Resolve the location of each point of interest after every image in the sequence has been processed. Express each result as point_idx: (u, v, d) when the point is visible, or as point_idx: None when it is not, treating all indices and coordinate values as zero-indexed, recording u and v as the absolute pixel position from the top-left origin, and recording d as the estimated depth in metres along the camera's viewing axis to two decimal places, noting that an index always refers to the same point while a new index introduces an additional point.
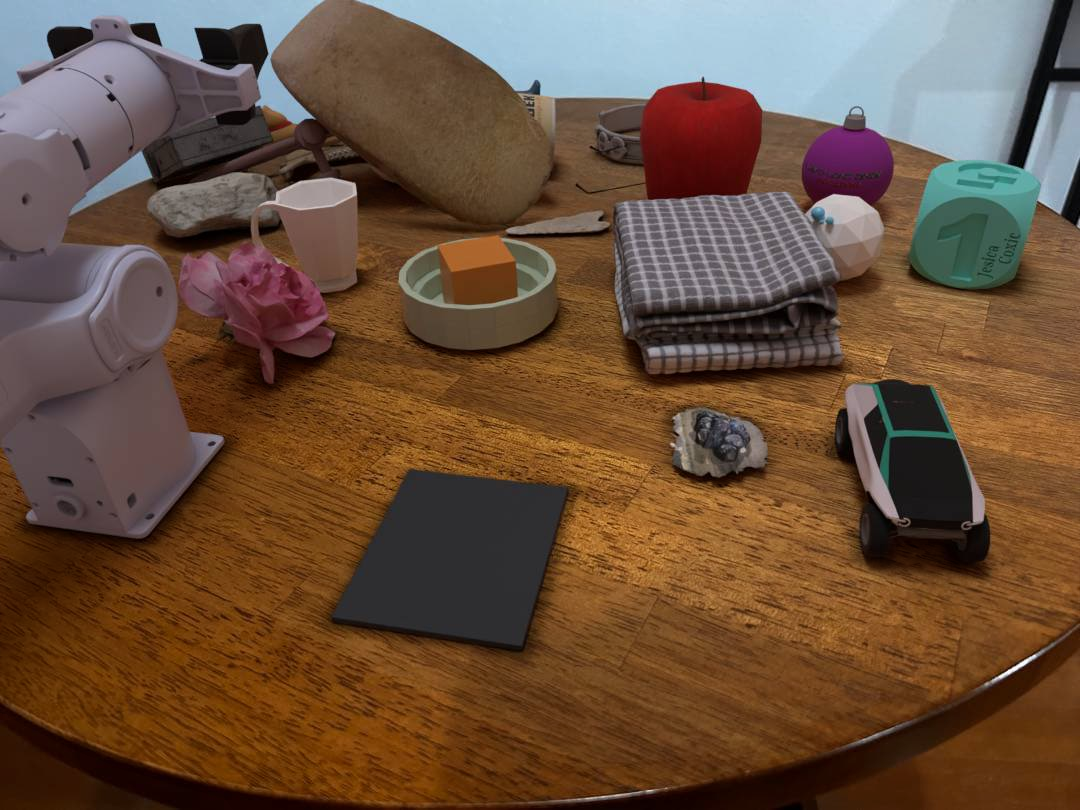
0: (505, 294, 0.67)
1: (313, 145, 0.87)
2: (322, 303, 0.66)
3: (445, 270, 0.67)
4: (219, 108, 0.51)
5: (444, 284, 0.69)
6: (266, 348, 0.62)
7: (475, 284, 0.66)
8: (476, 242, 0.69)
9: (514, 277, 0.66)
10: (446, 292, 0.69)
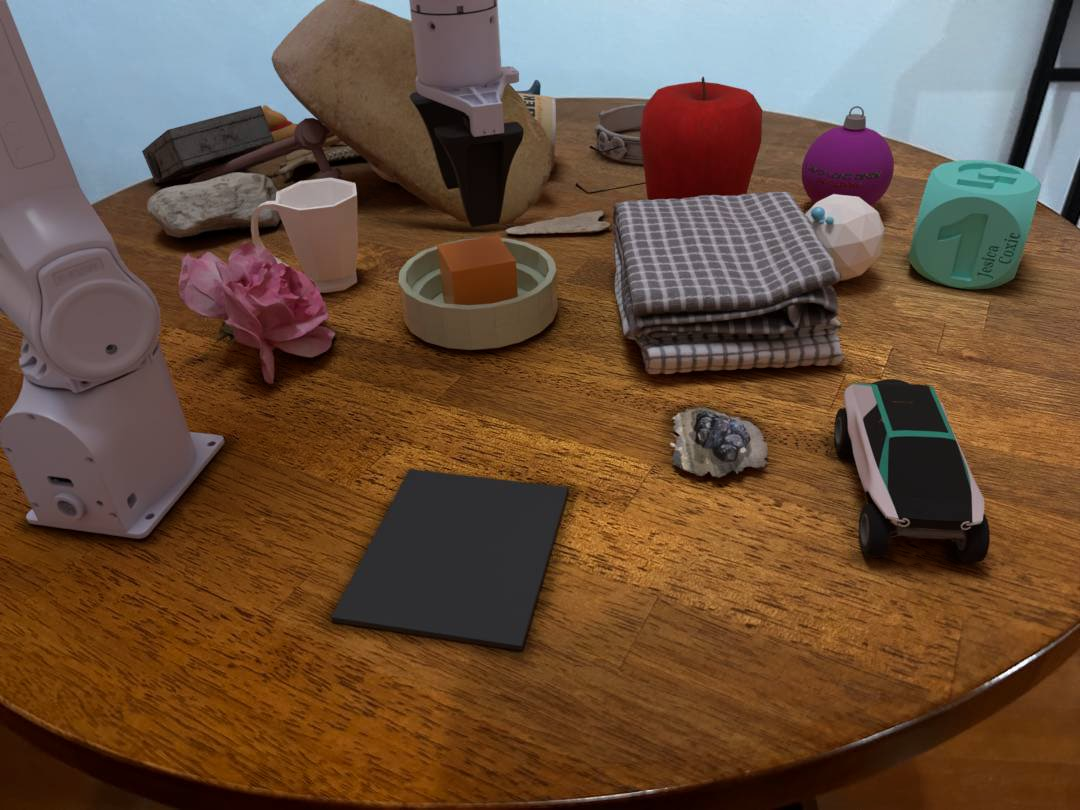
0: (505, 294, 0.67)
1: (313, 145, 0.87)
2: (322, 303, 0.66)
3: (445, 270, 0.67)
4: (464, 103, 0.55)
5: (444, 284, 0.69)
6: (266, 348, 0.62)
7: (475, 284, 0.66)
8: (476, 242, 0.69)
9: (514, 277, 0.66)
10: (446, 292, 0.69)
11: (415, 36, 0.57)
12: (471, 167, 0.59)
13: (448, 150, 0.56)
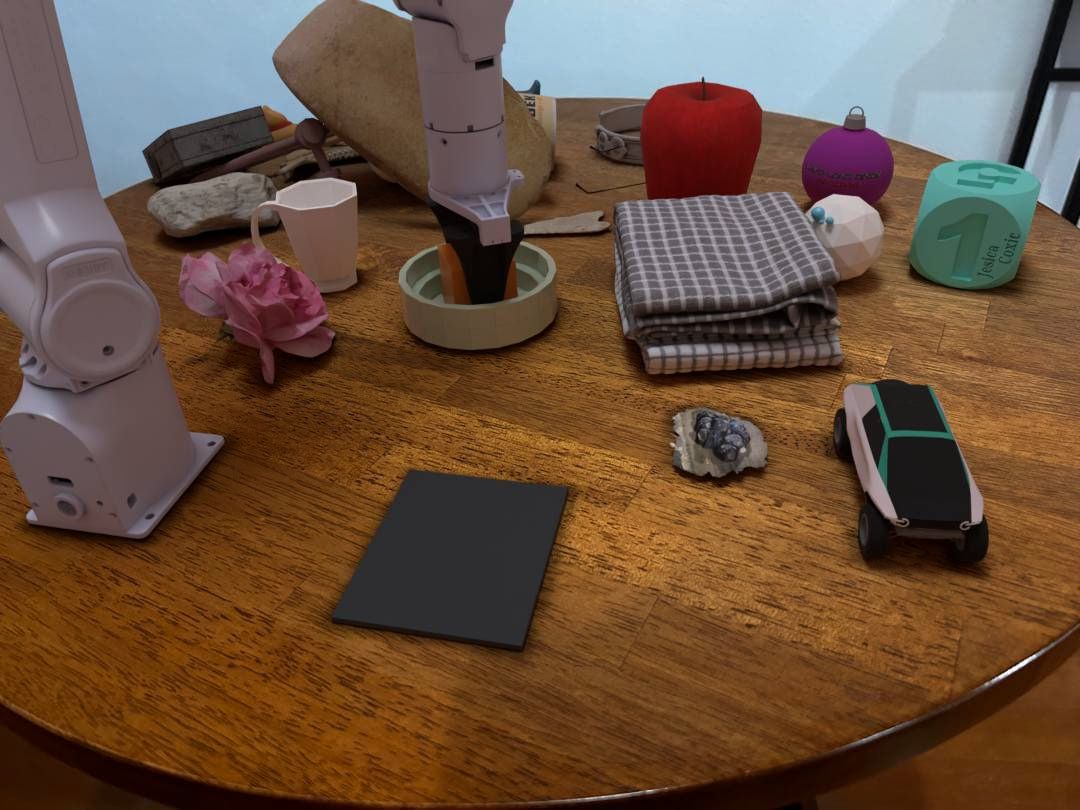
0: None
1: (313, 144, 0.87)
2: (322, 303, 0.66)
3: (445, 270, 0.67)
4: None
5: (444, 284, 0.69)
6: (266, 348, 0.62)
7: None
8: None
9: (514, 277, 0.66)
10: (446, 292, 0.69)
11: (428, 148, 0.61)
12: (476, 261, 0.64)
13: (455, 249, 0.61)
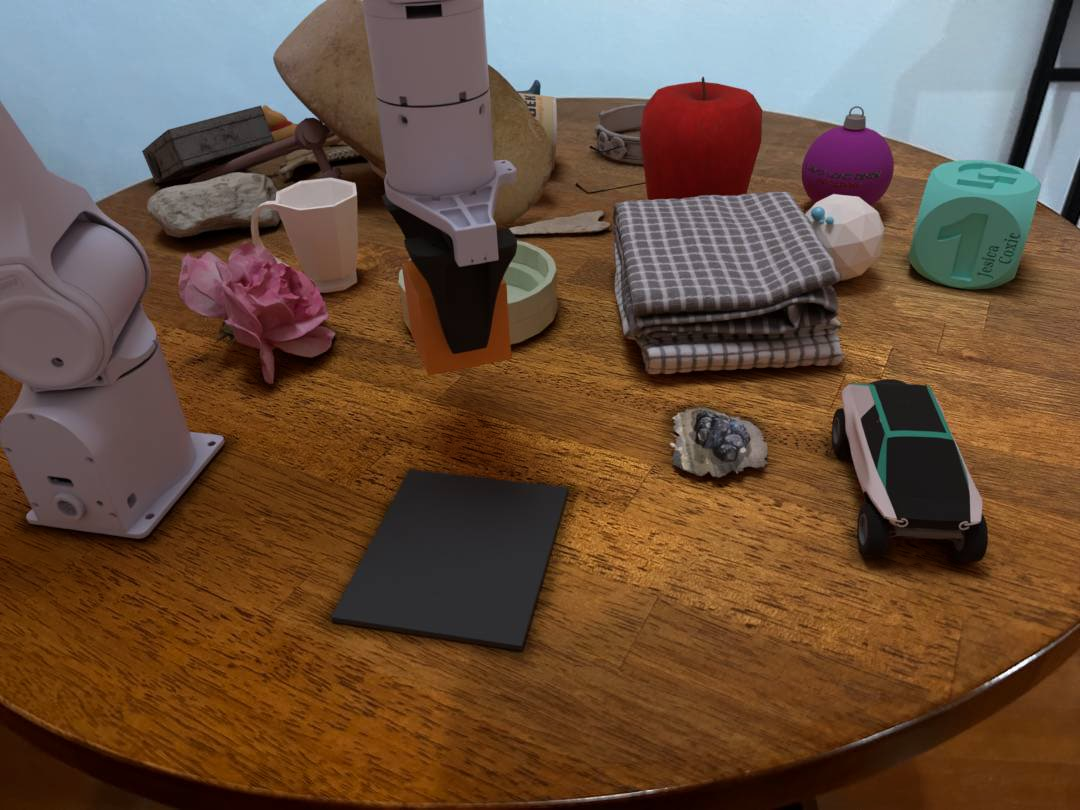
0: (492, 327, 0.50)
1: (314, 144, 0.87)
2: (322, 303, 0.66)
3: (411, 296, 0.50)
4: None
5: (411, 313, 0.52)
6: (266, 348, 0.62)
7: None
8: None
9: (504, 305, 0.49)
10: (414, 324, 0.52)
11: (382, 130, 0.44)
12: (451, 285, 0.47)
13: (421, 271, 0.44)
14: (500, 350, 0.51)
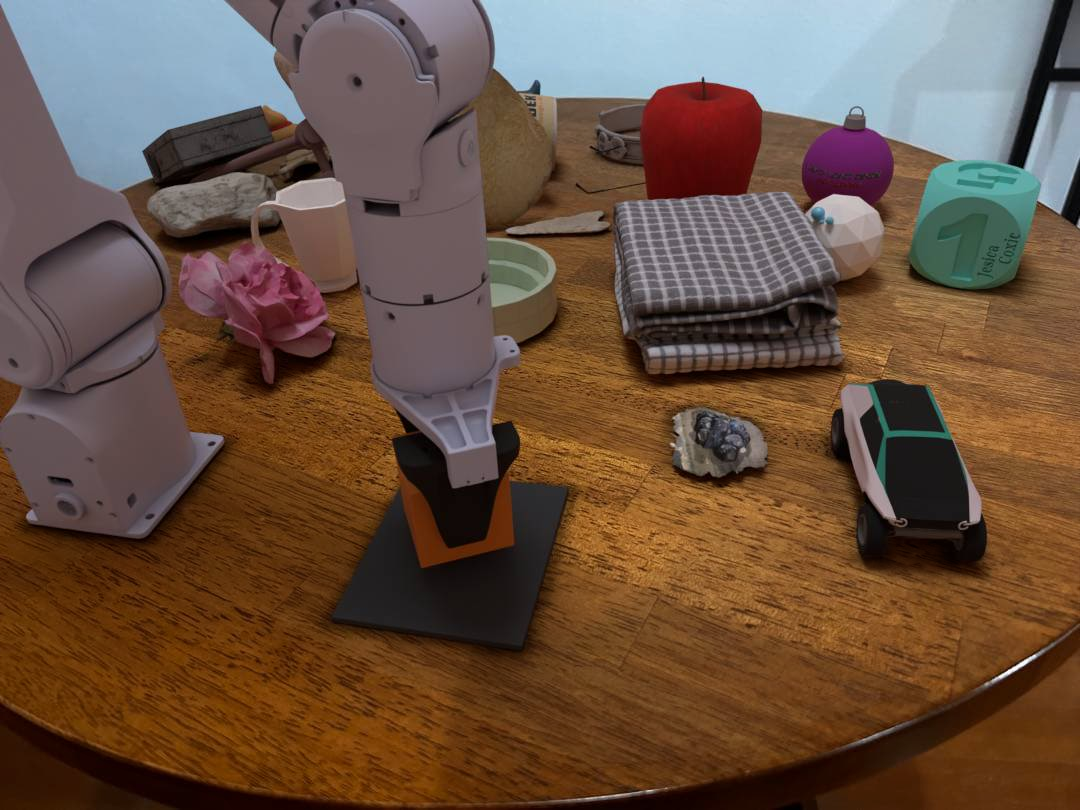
0: (492, 516, 0.44)
1: (314, 144, 0.87)
2: (322, 303, 0.66)
3: (402, 480, 0.44)
4: None
5: (403, 492, 0.46)
6: (266, 348, 0.62)
7: None
8: None
9: (506, 494, 0.44)
10: (405, 505, 0.46)
11: (367, 320, 0.39)
12: (445, 483, 0.41)
13: (410, 480, 0.39)
14: (501, 537, 0.45)
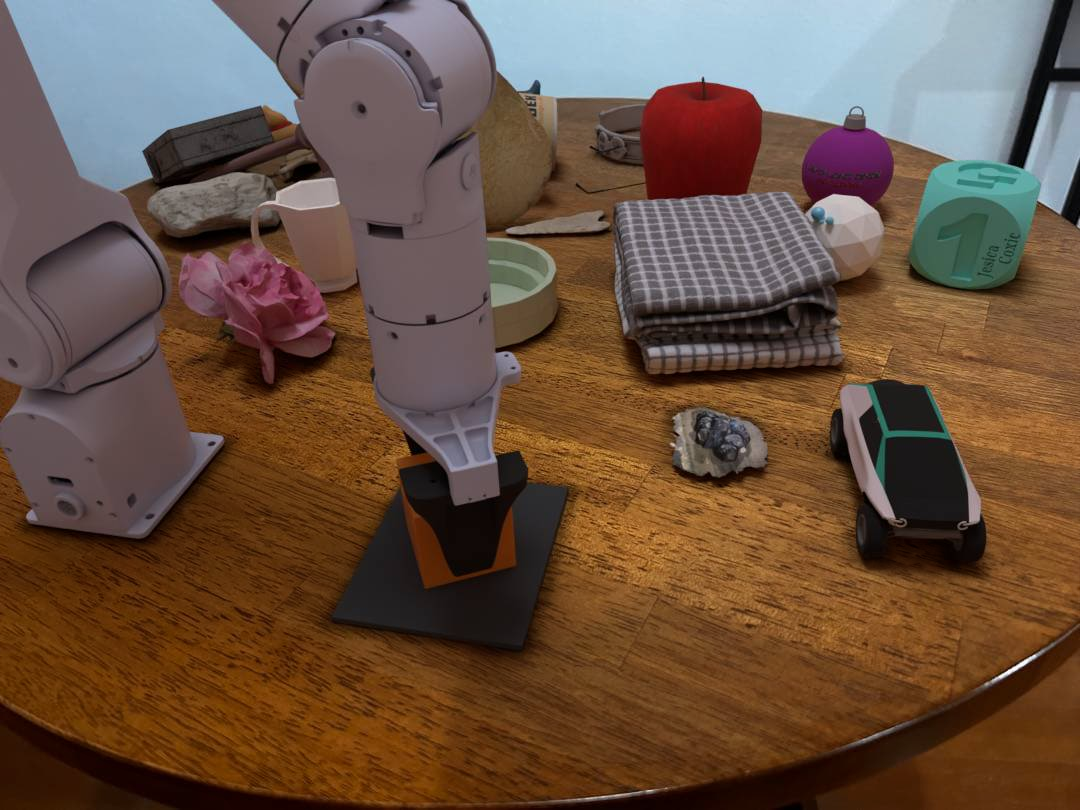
0: None
1: None
2: (322, 303, 0.66)
3: (406, 503, 0.45)
4: None
5: (407, 513, 0.47)
6: (266, 348, 0.62)
7: None
8: None
9: (508, 516, 0.45)
10: (409, 526, 0.47)
11: (370, 338, 0.39)
12: (452, 513, 0.41)
13: (418, 512, 0.38)
14: (503, 559, 0.46)
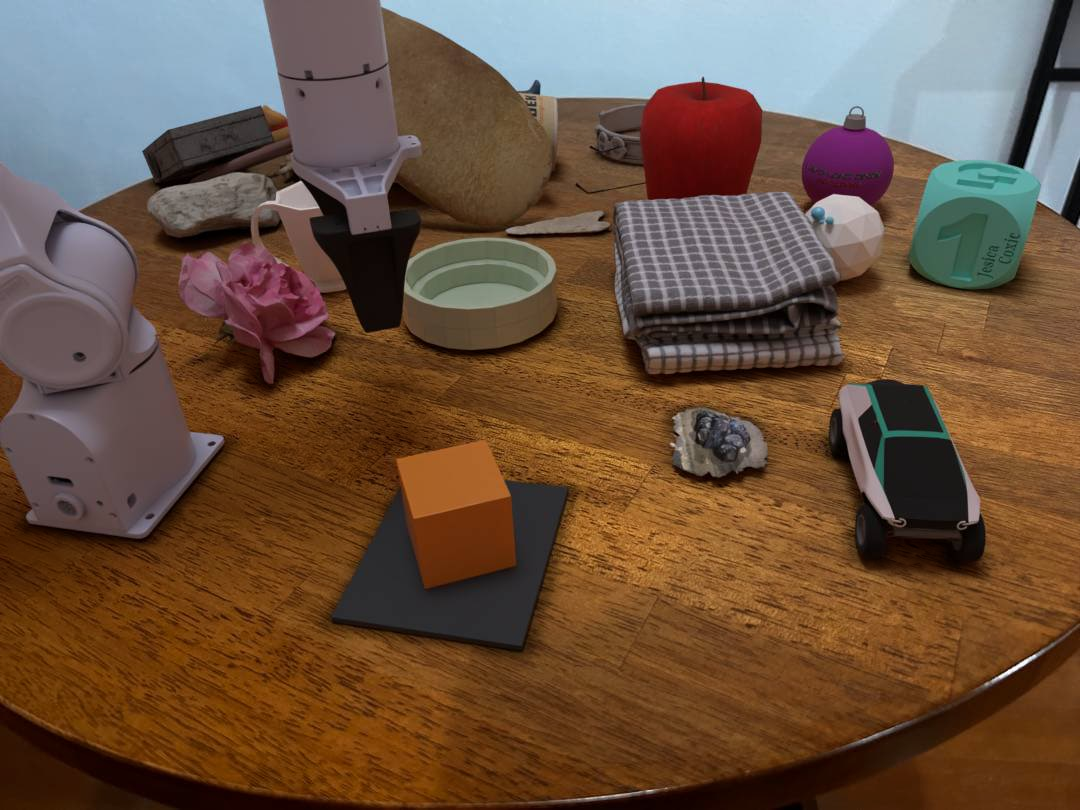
0: (494, 538, 0.45)
1: None
2: (322, 303, 0.66)
3: (406, 503, 0.45)
4: None
5: (407, 513, 0.47)
6: (266, 348, 0.62)
7: (451, 530, 0.44)
8: (453, 453, 0.47)
9: (508, 516, 0.45)
10: (409, 526, 0.47)
11: (284, 104, 0.45)
12: (359, 264, 0.47)
13: (323, 248, 0.45)
14: (503, 559, 0.46)
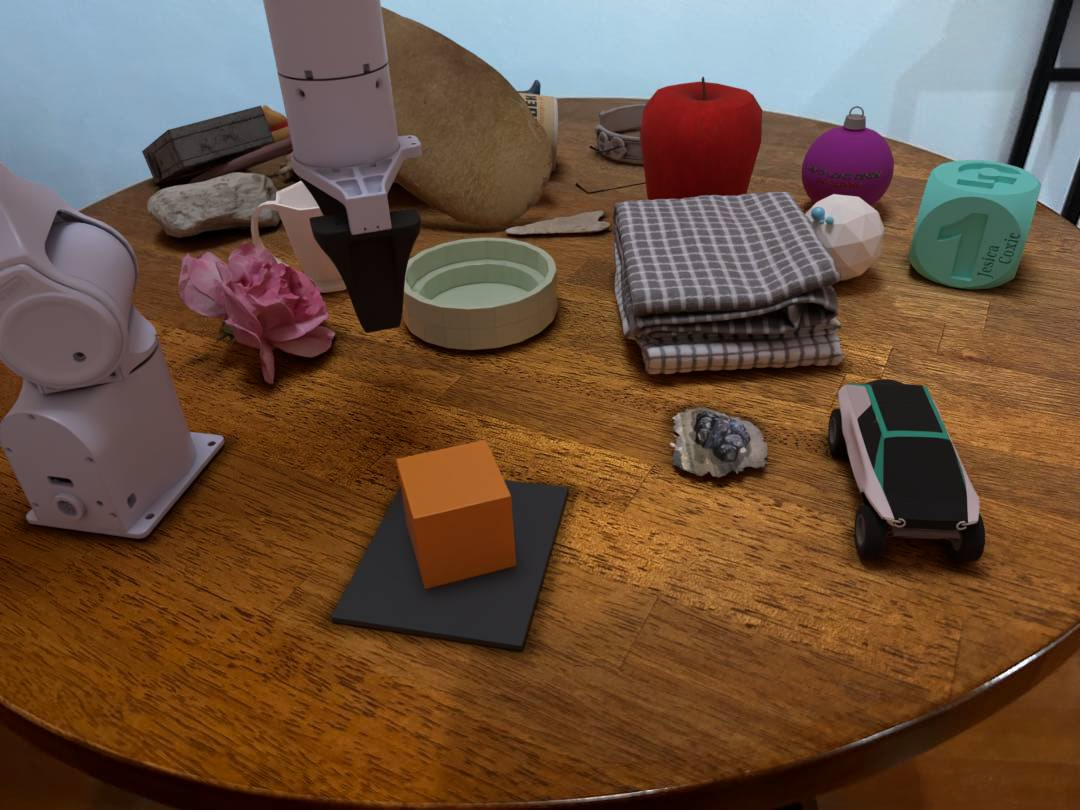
0: (494, 538, 0.45)
1: None
2: (322, 303, 0.66)
3: (406, 503, 0.45)
4: None
5: (407, 513, 0.47)
6: (266, 348, 0.62)
7: (451, 530, 0.44)
8: (453, 453, 0.47)
9: (508, 516, 0.45)
10: (409, 526, 0.47)
11: (284, 104, 0.45)
12: (359, 264, 0.47)
13: (323, 248, 0.45)
14: (503, 559, 0.46)
